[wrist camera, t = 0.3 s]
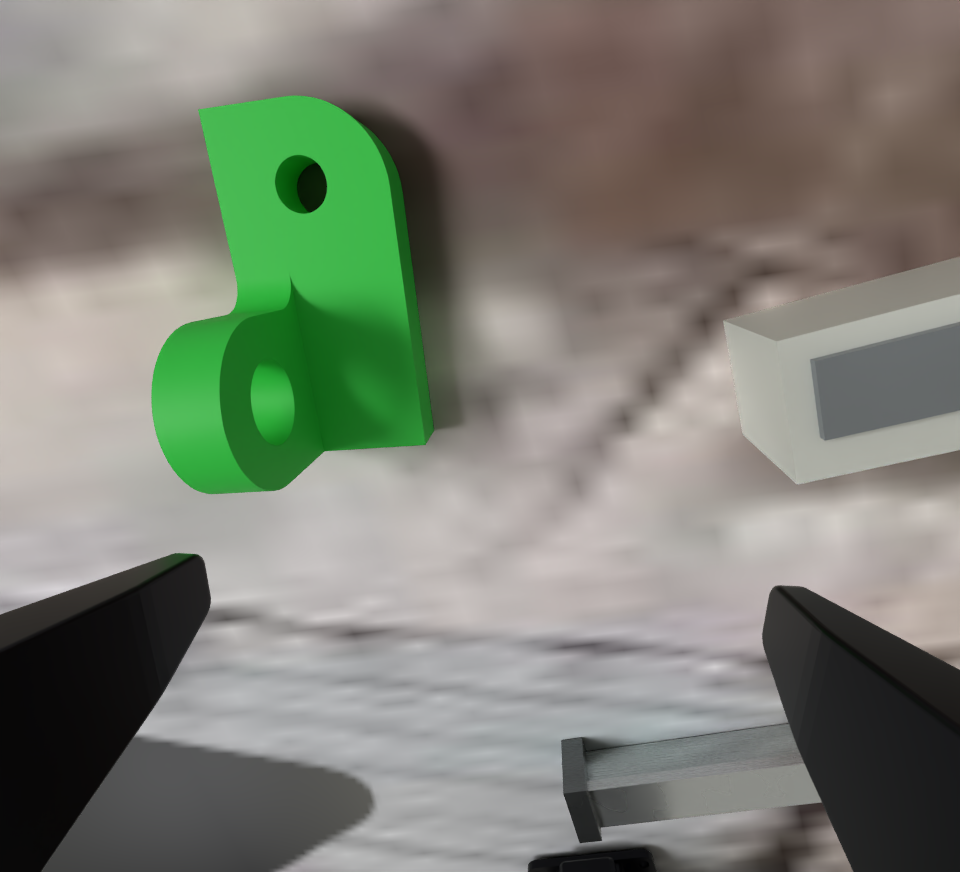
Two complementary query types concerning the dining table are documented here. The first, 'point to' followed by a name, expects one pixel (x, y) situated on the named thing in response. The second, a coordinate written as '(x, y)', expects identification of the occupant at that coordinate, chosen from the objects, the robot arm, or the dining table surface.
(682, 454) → the dining table surface
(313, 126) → the mechanical part
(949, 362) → the block
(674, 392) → the dining table surface
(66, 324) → the dining table surface
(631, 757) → the rail
